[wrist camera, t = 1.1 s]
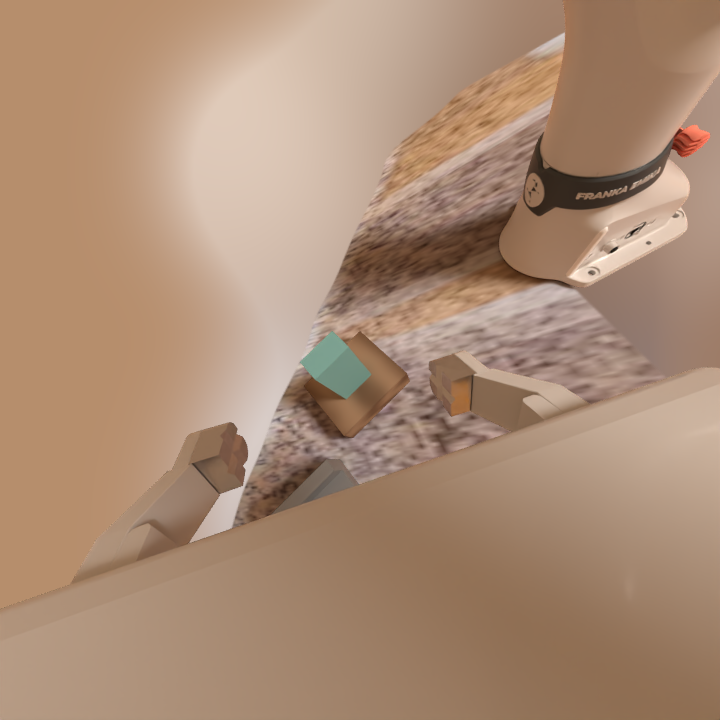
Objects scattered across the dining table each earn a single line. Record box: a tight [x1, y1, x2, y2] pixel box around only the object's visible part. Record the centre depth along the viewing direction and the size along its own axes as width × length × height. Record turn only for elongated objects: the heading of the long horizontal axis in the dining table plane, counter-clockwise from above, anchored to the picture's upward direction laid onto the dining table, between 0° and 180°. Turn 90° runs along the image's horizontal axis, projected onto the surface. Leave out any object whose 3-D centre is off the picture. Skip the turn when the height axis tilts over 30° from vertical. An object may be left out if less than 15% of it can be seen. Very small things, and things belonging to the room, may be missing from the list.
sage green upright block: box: [300, 331, 372, 399], centre depth 32 cm, size 5×3×10 cm, turn 132°
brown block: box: [304, 332, 410, 438], centre depth 39 cm, size 12×10×4 cm
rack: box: [271, 459, 359, 515], centre depth 33 cm, size 12×8×5 cm, turn 132°
